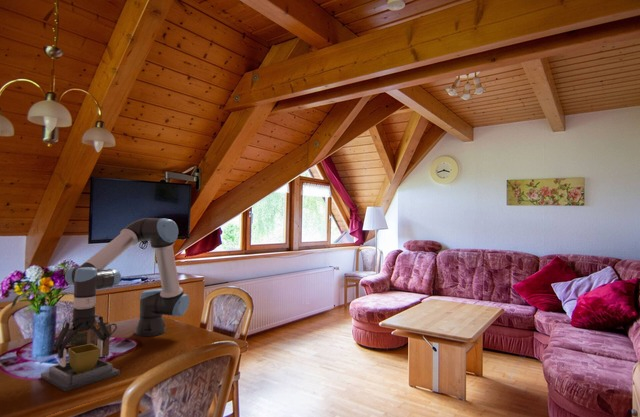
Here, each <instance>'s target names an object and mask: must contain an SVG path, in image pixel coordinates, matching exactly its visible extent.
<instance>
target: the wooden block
mask: <svg viewBox="0 0 640 417" xmlns="http://www.w3.org/2000/svg"><path fill="white" fill-rule="evenodd" d="M97 316H98V314H97V313H95V316H94V317H97ZM110 324H111V323H110ZM110 324H109V325H106V328H107V330H108V332H109V334H110ZM93 325H94V326H95V327H96V329H97V325H98V323H97V322H96V321H95V322H94V324H93ZM99 332H100V333H101V334H102V335H104V334H103V333H102V331H101V330H100V331H99ZM110 338H111V336H110V337H107V339H106V340H105V346H104V347H103V348H102V358H101V359H103V357H104V358H106V357H108V356H107V355H109V356H110ZM99 339H100V338H99V337H98V336H97V335H96V334H95V333H94V332H93V331H92V330H91V329H89V330H88V334H87V344H93V345H95V346H96V341H98V340H99ZM96 347H97V346H96ZM105 356H106V357H105ZM98 358H100V357H99V356H98Z"/></svg>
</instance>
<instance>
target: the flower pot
mask: <svg viewBox="0 0 640 417" xmlns="http://www.w3.org/2000/svg"><path fill="white" fill-rule="evenodd" d="M67 351H68V352H67V354H68V362H69V363H70V366H71V368H72V369H73V371H74V372H76V373H77V374H78V373H82V372H85V371H88V370H92V369H94V367H95V365H96V363H97V361H98V358H99V357H98V356H99V351H100V349H99V348H98V347H96V346H95V345H93V344H87V345H82V346H77V347H69V348H68V349H67Z"/></svg>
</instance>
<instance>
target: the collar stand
mask: <svg viewBox="0 0 640 417" xmlns="http://www.w3.org/2000/svg"><path fill="white" fill-rule="evenodd" d="M48 370H49V371H45V372H41V373H40V378H41V379H43V380H44V381H46V382H47V383H49V384H51V385H53V386H55V387H56V388H58V389H60V390H62V391H64V392H65V393H66V392H69V391H72V390H74V389H77V388H81V387H84V386H87V385H90V384H93V383H96V382H99V381H103V380H106V379H109V378H112V377H115V376H118V375H120V374H121V372H120V371H121V370H120V369H117V368H115V367H113V363H111V362H109V361H107V360H104V359H103V358H100V357H98V361H97V363H96V365H95V367H94V369H92V370H88V371H85V372H82V373H78V374H77V373H76V372H74V371H73V369H72V368H71V366H70V363H69V361H66V367H62V366H60V363H58V364H54V365H53V364H52V365H51V366H49V368H48Z"/></svg>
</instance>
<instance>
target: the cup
mask: <svg viewBox="0 0 640 417" xmlns="http://www.w3.org/2000/svg"><path fill="white" fill-rule="evenodd" d="M104 324H105V326H106V325H109V324H110V337H112V335H113V334H114V333H115V332H116V331H117V328H118V324H117V323H115V322H112V323H110V322H108V321H107V322H104ZM112 326H114V327H115V328H114V329H113V330H112ZM72 328H73V327H72ZM72 328H71V327H70V328H69V330H68V332H67V334H66V336H67V335H68V334H69V333H70V330H71V329H72ZM97 330H98V331H100V330H101V329H100V327H99V325H98V324H97ZM87 334H88V330H87V331H86V330H84V331H82V332H78V333H77V334H75V336H74V337H73V338H72V339H71V341H70V342H69V343H68V344H69V346H70V348H72V347H77V346H82V345H87ZM66 336H65V337H66ZM96 346H97V341H96Z"/></svg>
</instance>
